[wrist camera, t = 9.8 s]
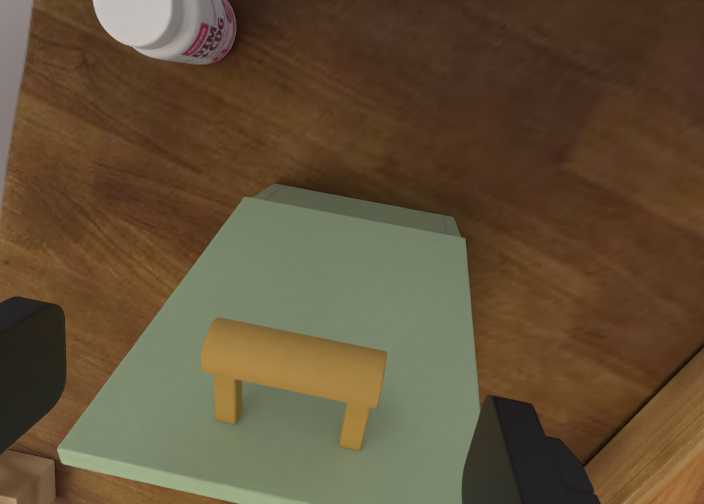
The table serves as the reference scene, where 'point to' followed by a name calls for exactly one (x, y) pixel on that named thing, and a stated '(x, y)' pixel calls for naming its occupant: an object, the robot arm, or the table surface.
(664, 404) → the tray
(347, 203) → the green box
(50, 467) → the block
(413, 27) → the table surface
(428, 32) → the table surface
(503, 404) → the robot arm
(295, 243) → the cover
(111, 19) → the pill bottle
